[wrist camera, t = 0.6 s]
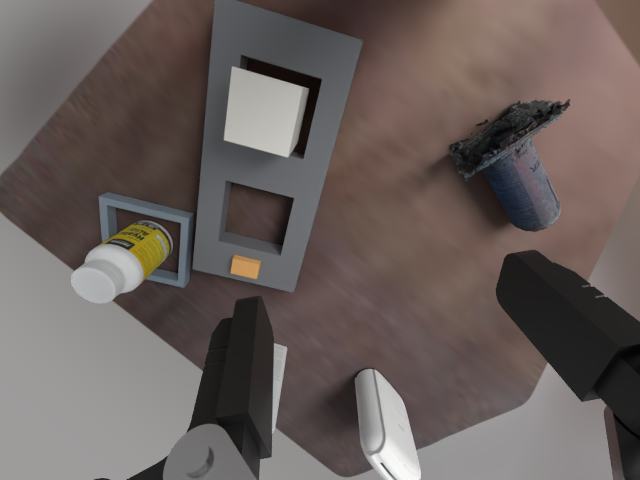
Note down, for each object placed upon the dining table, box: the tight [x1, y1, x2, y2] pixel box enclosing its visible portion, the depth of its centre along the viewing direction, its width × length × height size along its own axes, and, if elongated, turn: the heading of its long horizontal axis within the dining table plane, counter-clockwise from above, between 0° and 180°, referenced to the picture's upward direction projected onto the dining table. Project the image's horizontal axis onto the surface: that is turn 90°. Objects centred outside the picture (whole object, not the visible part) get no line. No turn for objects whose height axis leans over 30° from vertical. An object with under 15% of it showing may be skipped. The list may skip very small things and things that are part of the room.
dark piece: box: [450, 100, 570, 232], centre depth 28 cm, size 9×8×12 cm
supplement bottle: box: [71, 220, 173, 304], centre depth 31 cm, size 5×5×10 cm
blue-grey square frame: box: [99, 192, 194, 288], centre depth 35 cm, size 10×10×2 cm
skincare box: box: [272, 343, 287, 434], centre depth 38 cm, size 6×4×12 cm
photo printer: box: [355, 369, 421, 480], centre depth 41 cm, size 10×4×12 cm, turn 35°
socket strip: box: [193, 0, 363, 293], centre depth 28 cm, size 26×12×8 cm, turn 165°
